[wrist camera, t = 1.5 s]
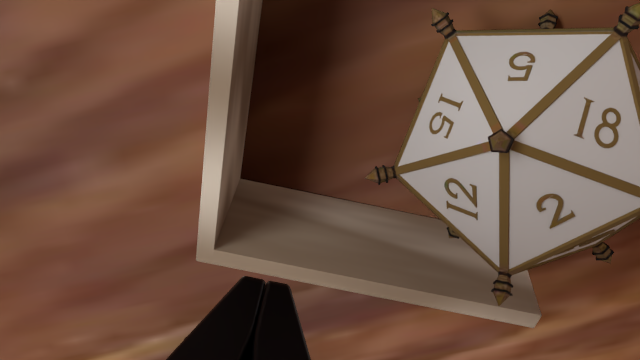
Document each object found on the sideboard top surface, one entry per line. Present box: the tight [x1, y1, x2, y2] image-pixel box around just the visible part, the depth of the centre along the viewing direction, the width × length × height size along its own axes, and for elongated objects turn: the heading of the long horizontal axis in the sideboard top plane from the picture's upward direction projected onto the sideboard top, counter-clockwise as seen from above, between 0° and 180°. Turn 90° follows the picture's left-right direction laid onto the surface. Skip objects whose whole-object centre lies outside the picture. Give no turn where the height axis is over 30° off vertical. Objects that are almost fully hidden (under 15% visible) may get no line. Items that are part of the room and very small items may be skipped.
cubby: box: [196, 0, 542, 328], centre depth 18 cm, size 14×13×4 cm
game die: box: [365, 3, 640, 306], centre depth 17 cm, size 9×8×10 cm
